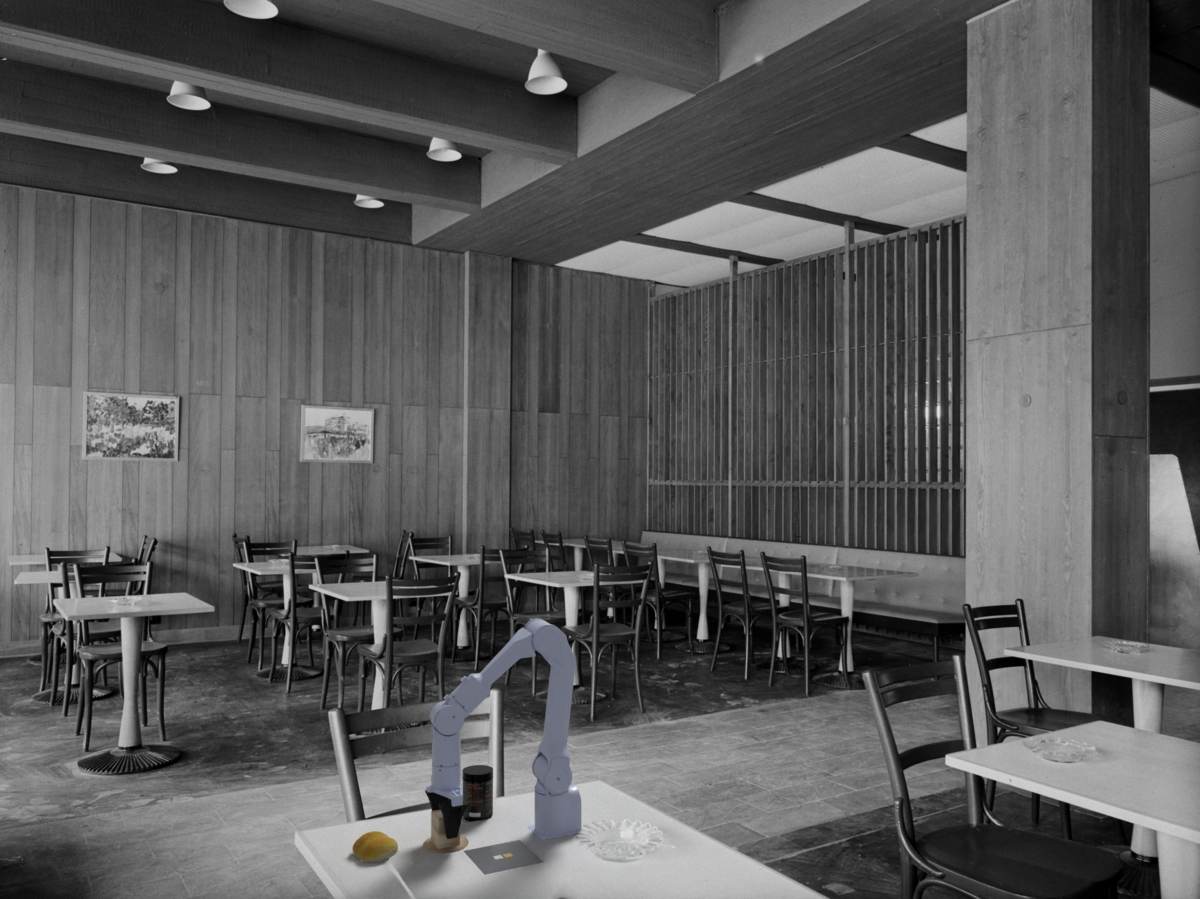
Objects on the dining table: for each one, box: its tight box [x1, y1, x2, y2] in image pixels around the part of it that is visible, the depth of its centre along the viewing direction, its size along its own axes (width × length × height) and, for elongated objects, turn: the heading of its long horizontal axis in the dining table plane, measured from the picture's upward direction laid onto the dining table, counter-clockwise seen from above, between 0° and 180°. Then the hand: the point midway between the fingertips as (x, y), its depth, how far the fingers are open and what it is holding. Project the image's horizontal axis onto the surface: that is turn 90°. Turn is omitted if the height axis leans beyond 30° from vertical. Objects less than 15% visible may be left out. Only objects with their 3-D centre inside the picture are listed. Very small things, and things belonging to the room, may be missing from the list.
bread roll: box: [351, 831, 399, 863], centre depth 180 cm, size 8×9×4 cm
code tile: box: [463, 839, 545, 875], centre depth 177 cm, size 12×12×1 cm
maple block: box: [430, 810, 461, 849], centre depth 184 cm, size 4×4×6 cm
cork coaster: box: [422, 834, 470, 854], centre depth 184 cm, size 9×9×1 cm
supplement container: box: [461, 764, 494, 823], centre depth 199 cm, size 7×7×10 cm
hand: (446, 831), depth 184 cm, fingers open, 7 cm apart
